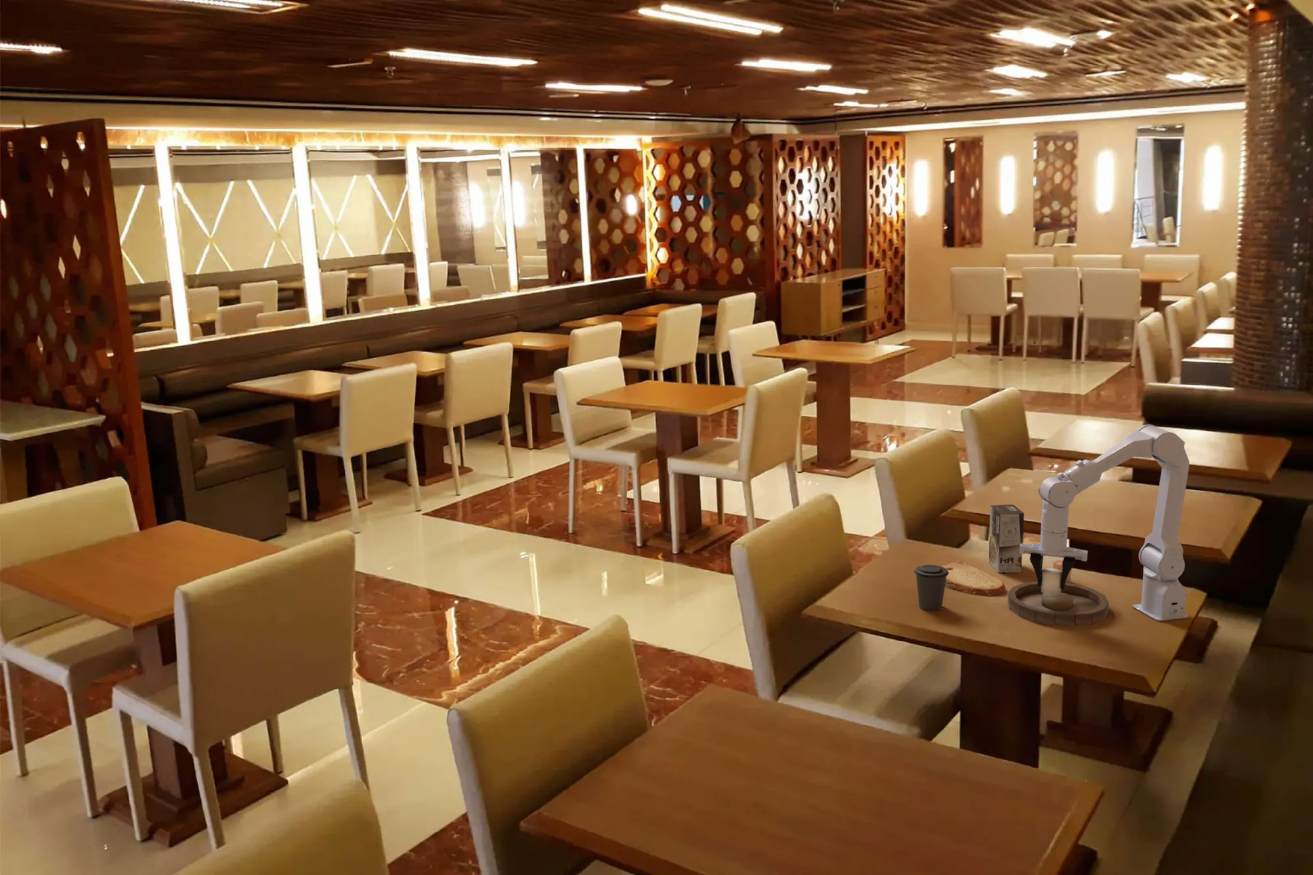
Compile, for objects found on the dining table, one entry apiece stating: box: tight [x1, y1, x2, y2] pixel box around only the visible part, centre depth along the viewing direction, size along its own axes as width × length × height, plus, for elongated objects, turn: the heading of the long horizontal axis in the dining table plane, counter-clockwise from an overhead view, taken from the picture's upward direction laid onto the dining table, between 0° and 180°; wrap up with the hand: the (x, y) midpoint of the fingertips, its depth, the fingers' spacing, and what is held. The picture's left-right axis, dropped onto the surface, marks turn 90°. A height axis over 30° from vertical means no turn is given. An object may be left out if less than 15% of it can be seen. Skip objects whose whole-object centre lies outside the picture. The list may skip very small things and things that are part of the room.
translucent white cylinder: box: [1041, 567, 1062, 595], centre depth 246 cm, size 4×4×5 cm
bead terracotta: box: [1052, 559, 1073, 584], centre depth 270 cm, size 4×4×5 cm
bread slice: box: [941, 561, 1008, 597], centre depth 272 cm, size 18×18×4 cm
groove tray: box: [1007, 581, 1110, 627], centre depth 252 cm, size 22×22×3 cm
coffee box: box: [988, 503, 1025, 574], centre depth 280 cm, size 9×6×16 cm
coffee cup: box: [913, 564, 949, 612], centre depth 255 cm, size 8×8×10 cm
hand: (1051, 586), depth 246 cm, fingers closed on translucent white cylinder, 4 cm apart
